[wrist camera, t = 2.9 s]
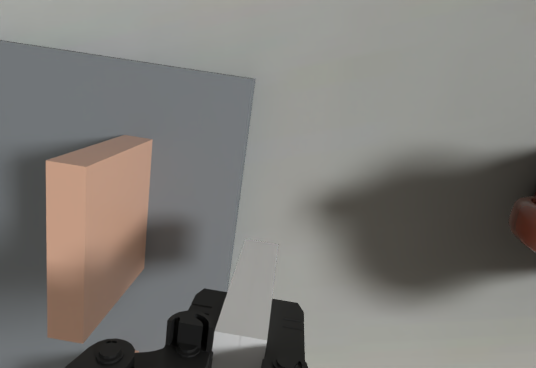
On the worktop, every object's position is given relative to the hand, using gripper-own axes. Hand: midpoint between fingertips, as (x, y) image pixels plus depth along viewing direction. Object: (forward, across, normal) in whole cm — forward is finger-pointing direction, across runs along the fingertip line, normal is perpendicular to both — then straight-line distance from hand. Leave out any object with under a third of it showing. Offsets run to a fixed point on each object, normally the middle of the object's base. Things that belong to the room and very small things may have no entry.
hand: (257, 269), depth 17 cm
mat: (+6, -12, -7) cm, 15 cm away
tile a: (+5, -8, 0) cm, 9 cm away
